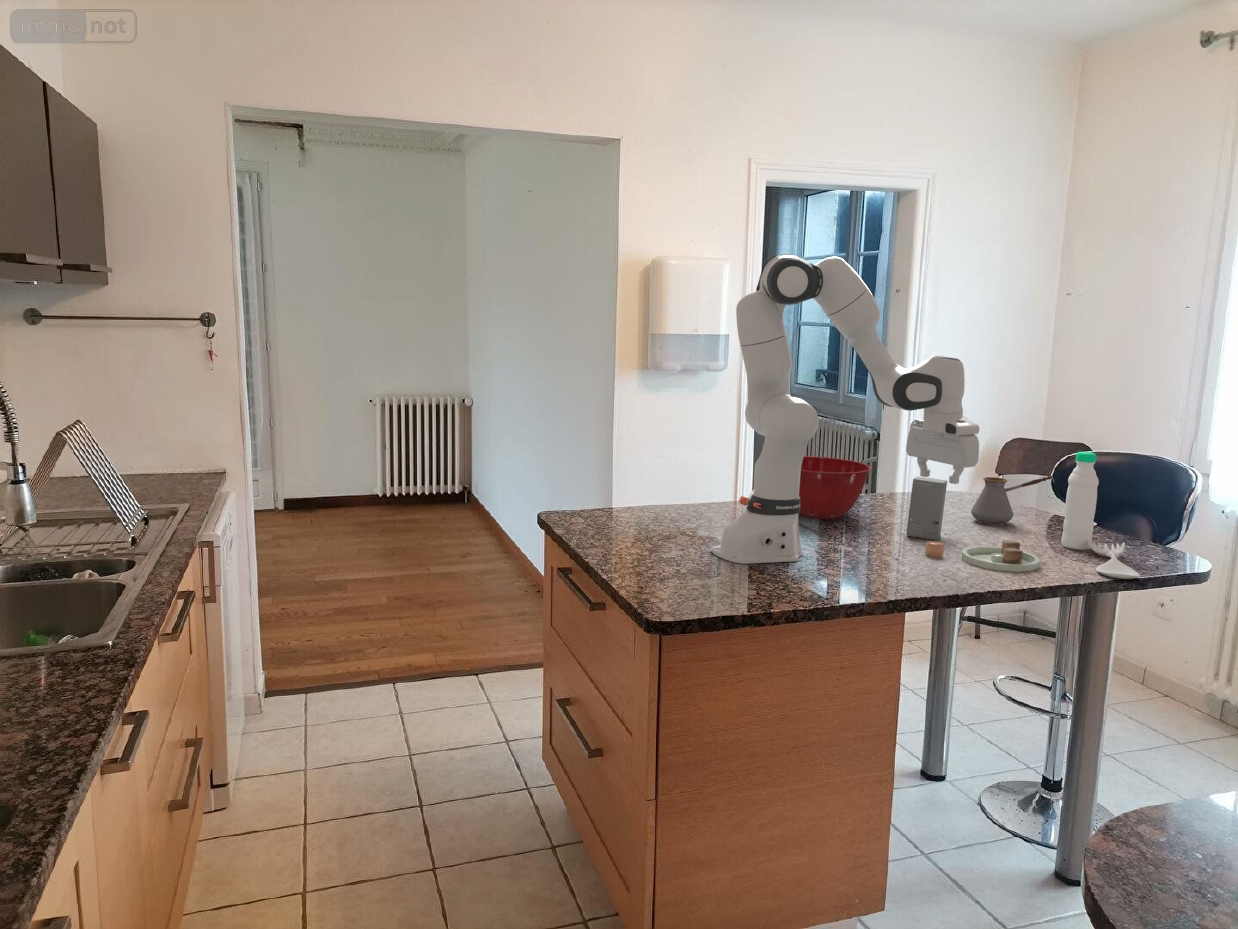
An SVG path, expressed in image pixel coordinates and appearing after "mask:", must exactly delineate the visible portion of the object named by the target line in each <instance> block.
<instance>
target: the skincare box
mask: <svg viewBox="0 0 1238 929" xmlns="http://www.w3.org/2000/svg"><path fill="white" fill-rule="evenodd" d="M947 485H948V480H946V479H938V478H933V477H923V476H915V477H914V478H913V479H912V486H911V493H910V500H909V501H910V502H909V508H908V518H907V525H906V537H908V536H911V537H910V538H916V537H918V539H923V538H926V540H932V539H933V540H934V541H937V540H938V539H939V538H940V537H941V534H942V527H943V517H944V510H945V508H944V507H945V502H946V494H947V493H946V492H947V487H948V486H947ZM939 536H940V537H939ZM933 540H932V541H933Z"/></svg>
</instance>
